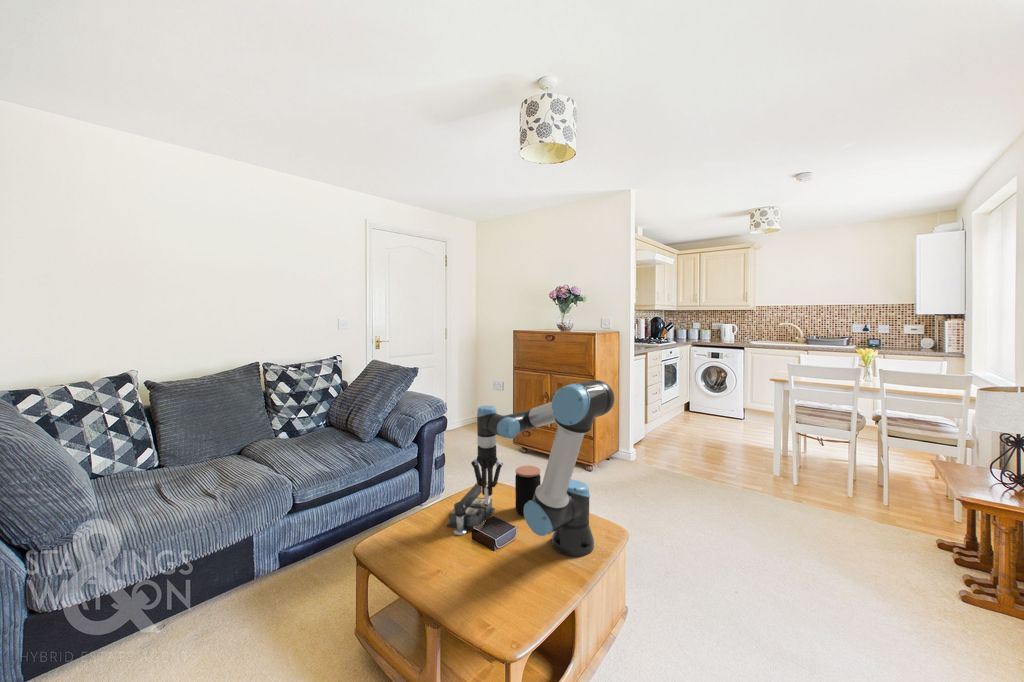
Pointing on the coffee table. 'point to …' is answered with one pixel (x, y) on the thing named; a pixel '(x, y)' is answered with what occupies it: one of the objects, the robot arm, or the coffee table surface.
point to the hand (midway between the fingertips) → (487, 502)
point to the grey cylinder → (460, 526)
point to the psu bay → (473, 514)
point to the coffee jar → (525, 485)
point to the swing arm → (467, 500)
